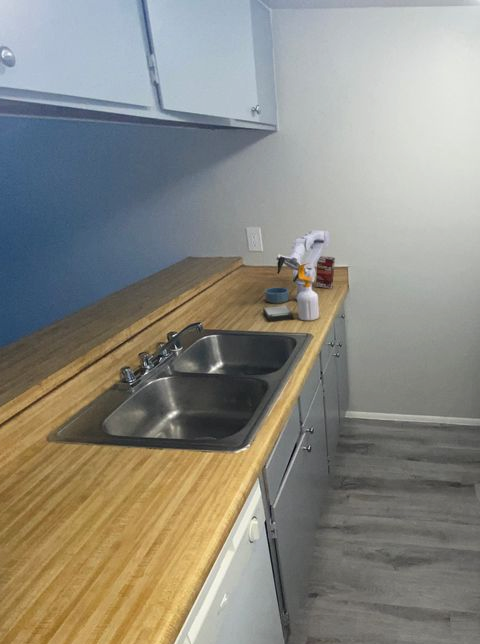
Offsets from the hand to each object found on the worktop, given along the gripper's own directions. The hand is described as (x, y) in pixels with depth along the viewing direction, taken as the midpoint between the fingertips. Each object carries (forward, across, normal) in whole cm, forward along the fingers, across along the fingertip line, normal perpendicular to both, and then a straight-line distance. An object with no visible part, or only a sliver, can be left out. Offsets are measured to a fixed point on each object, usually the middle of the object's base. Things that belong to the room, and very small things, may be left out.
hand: (286, 276), depth 209 cm
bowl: (-8, +1, +27) cm, 28 cm away
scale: (+12, +4, +13) cm, 18 cm away
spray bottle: (+10, +17, +6) cm, 21 cm away
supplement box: (-35, +20, +30) cm, 50 cm away
